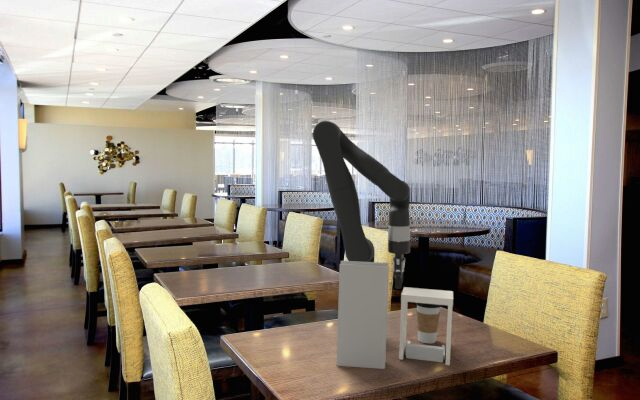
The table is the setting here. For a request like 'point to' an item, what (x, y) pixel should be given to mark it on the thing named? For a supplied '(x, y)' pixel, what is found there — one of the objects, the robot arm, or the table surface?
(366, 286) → the tall white box
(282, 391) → the table surface
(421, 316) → the coffee cup
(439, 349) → the white rectangular frame
